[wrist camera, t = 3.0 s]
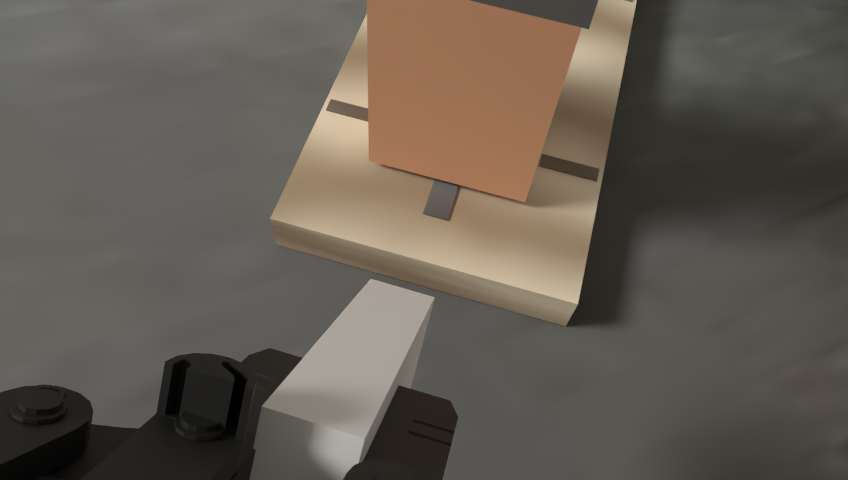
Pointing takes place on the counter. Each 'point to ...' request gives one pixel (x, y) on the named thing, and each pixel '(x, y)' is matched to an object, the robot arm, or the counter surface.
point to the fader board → (463, 192)
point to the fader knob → (468, 86)
